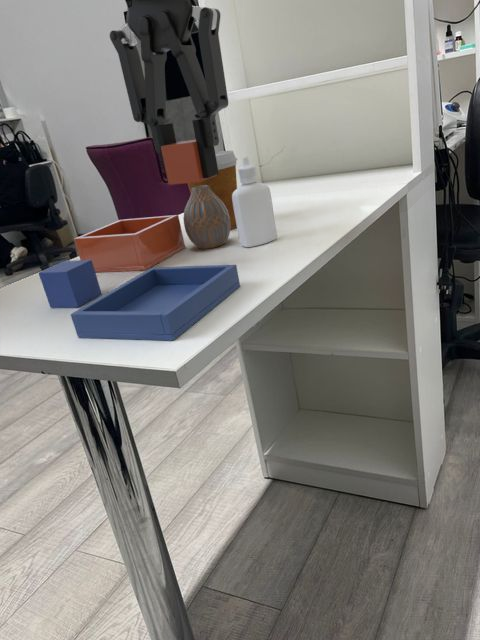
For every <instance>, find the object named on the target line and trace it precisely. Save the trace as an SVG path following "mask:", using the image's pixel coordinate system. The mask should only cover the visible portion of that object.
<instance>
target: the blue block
mask: <svg viewBox="0 0 480 640" xmlns="http://www.w3.org/2000/svg"><path fill="white" fill-rule="evenodd" d="M38 276H39V279H40V282H41V284H42V288H43V291H44V293H45V297H46V299H47V302H48V304H49V307H50V308H51V309H52V308H55V309H57V308H59V309H60V308H61V309H62V308H63V309H64V308H65V309H66V308H68V309H69V308H71V309H72V308H74V309H75V308H76V309H77V308H78V309H79V308H81V307H83V306H85V305H86V304H87V303H90V302H92V301H93V300H95V299H97V298H99V297H100V296H102V294H103V293H102V290H101V287H100V283H99V280H98V276H97V272H95V270H94V266H93V263H92V260H80V259H79V260H63V261H61V262H59V263H57V264H54V265H52V266H50V267H47V268H46V269H43V270H41V271H39V272H38Z"/></svg>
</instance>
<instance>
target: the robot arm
mask: <svg viewBox="0 0 480 640" xmlns="http://www.w3.org/2000/svg"><path fill="white" fill-rule="evenodd" d="M124 1H125V5H126V7H127V8H126V9H127V12H126V13H127V14H126V23H124V25H123V26H121V28H119V29H118V30H111V31H110V32H109V39H110V41H111V43H112V45H113V47H114V49H115V51H116V52H117V55H118V59H119V63H120V68H121V72H122V76H123V80H124V85H125V88H126V93H127V96H128V101H129V105H130V109H131V114H132V119H133V120H134V122H136V123H142V124H146V125H148V126H149V129H150V133H151V137H152V141H153V146H154V151H155V152H156V154H160V155H161V161H162V164H163V169H164V174H165V179H166V182H167V183H168V178H167V174H166V169H165V164H164V159H163V155H162V150H161V146H164V145H168V144H172V143H177V139H176V133H175V129H174V123H173V122H172V123H171V122H170V118H167V108H166V107H167V105H166V103H167V102H166V69H165V67H166V65H165V64H166V61H167V57H168V55H167V53H168V52H169V51H170V52H171V54H172V56H173V57H174V58H175V59H176V63H177V65H178V67H179V70H180V72H181V76H182V77H183V81H184V83H185V86H186V88H187V90H188V94H189V96H190V98H191V101H192V104H193V107H194V109H195V112H196V114H194V115H193V116H194V117H195V118H196V119H193V120H192V128H193V132H194V137H195V138H194V139H195V140H196V142H197V146H198V152H199V157H200V163H201V168H202V174H203V178H209V177H212V176H215V175H217V174H219V172H218V166H217V161H216V155H215V152H216V150H215V147H216V146H219V143H220V137H219V132H218V125H217V120H216V117H217V114H218V113H219V112H220V111H222V110H223V109H226V108H227V107H228V106H229V97H228V91H227V90H228V89H227V84H226V77H225V70H224V64H223V63H224V62H223V56H222V50H221V49H222V48H221V43H220V35H219V32H220V24H221V12H220V10H219V9H218V8H214V7H207V6H206V7H202V6H198V5H197V2H196V1H195V0H124ZM194 25H195V27H196V28H197V31H198V42H199V43H198V44H199V49H200V56H201V60H202V66H203V71H202V68H201V65H200V62H199V60H198V57H197V53H196V52H197V49H196V45H195V43H194V40H193V37H192V33H191V32H192V31H193V30H192V29H193V26H194ZM137 39H138V40H139V42H140V51H139V50H138V47H137V45H138V40H137ZM139 52H140V53H139ZM140 55H141V56H140ZM141 60H142V62H143V63H144V64H143V66H142V62H141ZM143 67H144V69H143ZM169 122H170V123H169Z"/></svg>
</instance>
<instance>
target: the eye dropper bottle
mask: <svg viewBox="0 0 480 640" xmlns="http://www.w3.org/2000/svg"><path fill="white" fill-rule="evenodd" d="M257 173H258V172H257V168H256V166H255V165H253V164H251V162H250V160H249V157H248V156H243V157H242V163H241V166H240V167H239V168H238V176H239V183H240V186H238V187H237V189H236V190H235V191H234V192H233V194H232V202H233V208H234V214H235V219H236V225H237V227H236V230H237V235H238V241H239V245H240V246H242V247H245V248H254V247H258V246H262V245H265V244H269V243H271V242H273V241H274V240H276V239H277V238H278V231H277V225H276V218H275V211H274V206H273V199H272V192H271V188H270V187H269V185H268V184H265V183H261V182H258V175H257Z"/></svg>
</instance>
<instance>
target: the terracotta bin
mask: <svg viewBox="0 0 480 640" xmlns="http://www.w3.org/2000/svg"><path fill="white" fill-rule="evenodd" d="M73 240H74V244H75V247H76V250H77V254H78V257H79V260H92V263H93V266H94V270H95V273H111V272H112V273H113V272H138V271H139V272H141V271H140V270H142V271H147V270H148V269H150V268H153V267H154V266H156V265H157V264H159V263H161V262H163V261H165V260H166V259H169V258H170V257H171V256H173V255H175V254H176V253H179V252H180V251H182V250H183V249H186V244H185V239H184V233H183V230H182V226H181V222H180V217H179V214H174V215H173V214H172V215H161V216H160V215H159V216H150V217H135V218H126V219H119V220H116V221H114V222H111V223H108V224H106V225H104V226H101V227H99V228H97V229H94V230H91V231H89V232H87V233H85V234H82V235H80V236H77V237H75V238H73Z"/></svg>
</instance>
